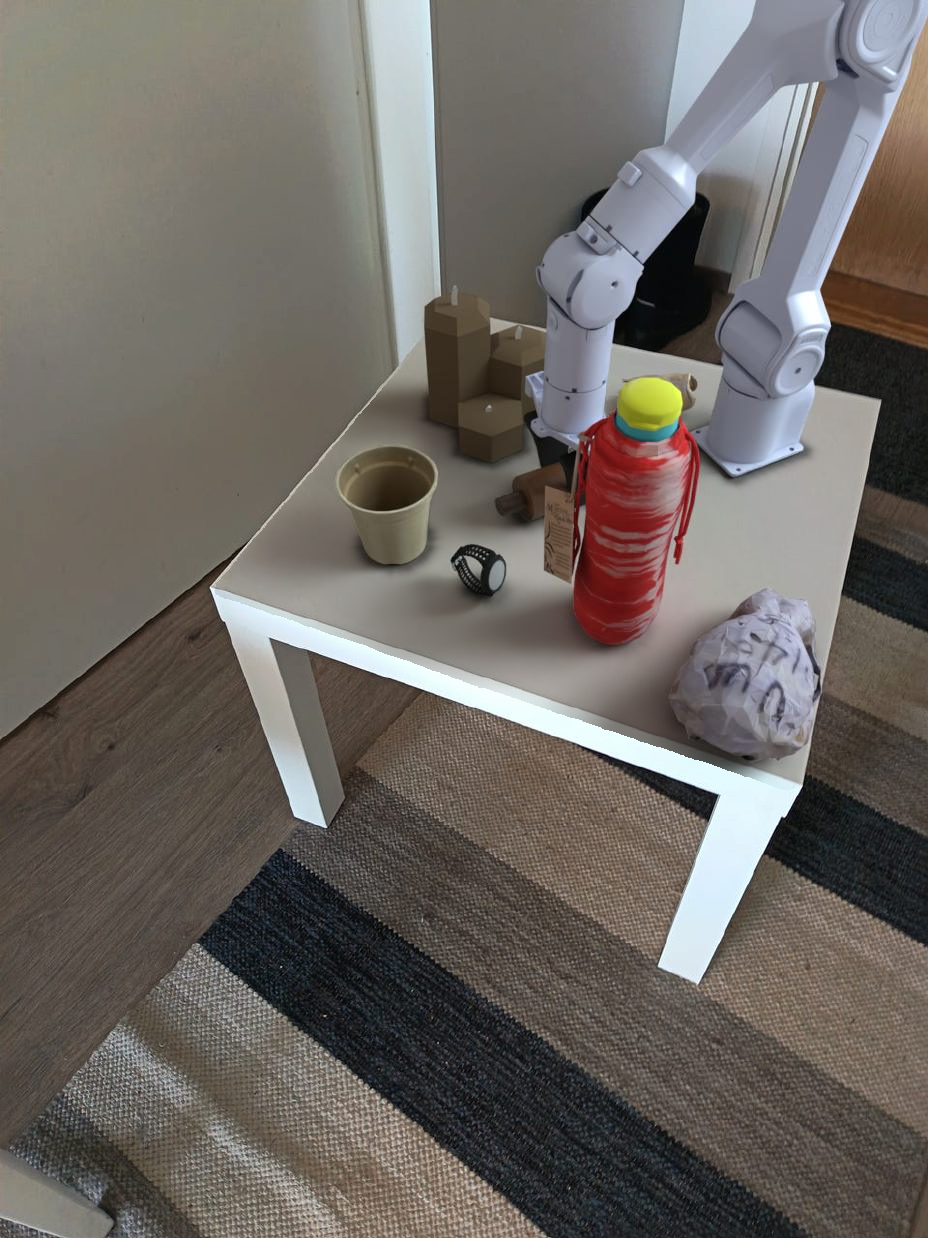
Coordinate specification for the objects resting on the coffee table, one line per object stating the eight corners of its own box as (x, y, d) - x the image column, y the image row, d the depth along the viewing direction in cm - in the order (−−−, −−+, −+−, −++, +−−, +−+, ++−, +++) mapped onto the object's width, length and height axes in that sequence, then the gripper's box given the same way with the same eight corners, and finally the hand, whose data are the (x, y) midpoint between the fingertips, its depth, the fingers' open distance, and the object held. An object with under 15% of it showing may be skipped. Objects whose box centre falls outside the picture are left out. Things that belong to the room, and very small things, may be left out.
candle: (399, 431, 96) (386, 309, 84) (458, 367, 103) (454, 246, 92) (507, 468, 92) (510, 344, 80) (561, 398, 99) (571, 276, 87)
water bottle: (520, 635, 77) (529, 407, 58) (543, 572, 82) (559, 341, 63) (653, 668, 75) (710, 440, 55) (669, 601, 79) (727, 369, 60)
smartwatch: (480, 613, 79) (479, 576, 75) (447, 580, 82) (445, 543, 78) (515, 592, 81) (516, 555, 77) (481, 560, 83) (481, 523, 79)
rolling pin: (615, 464, 92) (620, 429, 88) (639, 490, 89) (645, 455, 85) (488, 510, 88) (488, 475, 84) (509, 538, 85) (510, 504, 81)
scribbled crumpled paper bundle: (745, 611, 80) (778, 529, 73) (863, 680, 75) (911, 599, 68) (626, 729, 70) (651, 647, 63) (753, 818, 65) (797, 739, 58)
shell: (626, 423, 96) (620, 382, 94) (628, 415, 100) (623, 375, 98) (700, 411, 94) (695, 369, 92) (699, 402, 98) (695, 362, 96)
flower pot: (330, 564, 83) (316, 498, 77) (372, 501, 89) (362, 434, 82) (419, 589, 81) (412, 523, 74) (456, 523, 86) (453, 456, 80)
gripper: (498, 344, 80) (497, 458, 90) (579, 433, 71) (567, 547, 82) (564, 324, 81) (555, 438, 92) (650, 408, 73) (630, 522, 84)
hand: (565, 488), depth 87 cm, fingers closed on rolling pin, 4 cm apart
